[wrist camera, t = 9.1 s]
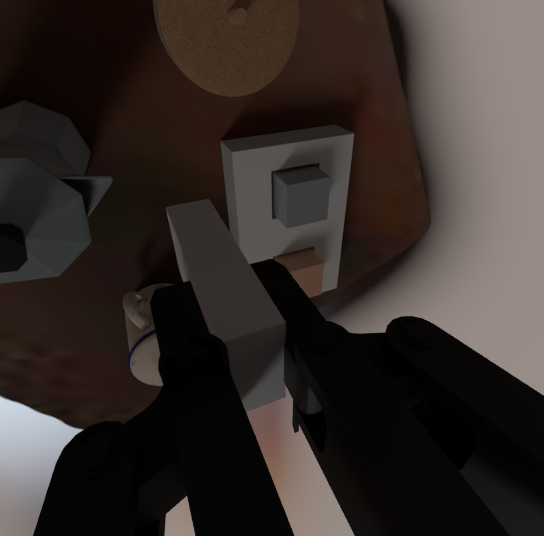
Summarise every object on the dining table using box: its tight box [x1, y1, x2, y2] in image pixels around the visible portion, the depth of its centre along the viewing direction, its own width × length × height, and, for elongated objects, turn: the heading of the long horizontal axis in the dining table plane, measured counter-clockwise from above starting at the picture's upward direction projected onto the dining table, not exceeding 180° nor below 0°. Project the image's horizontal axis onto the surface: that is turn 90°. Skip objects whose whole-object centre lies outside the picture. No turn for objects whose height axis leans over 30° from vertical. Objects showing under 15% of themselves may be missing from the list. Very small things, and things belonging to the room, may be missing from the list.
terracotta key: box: [273, 247, 324, 298], centre depth 46 cm, size 5×5×4 cm
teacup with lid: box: [123, 283, 174, 386], centre depth 42 cm, size 12×9×12 cm
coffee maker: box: [0, 100, 113, 284], centre depth 25 cm, size 15×9×18 cm, turn 106°
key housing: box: [221, 124, 354, 292], centre depth 45 cm, size 22×14×4 cm, turn 1°
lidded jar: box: [153, 0, 300, 97], centre depth 28 cm, size 11×11×9 cm
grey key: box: [271, 164, 331, 229], centre depth 40 cm, size 5×5×4 cm
